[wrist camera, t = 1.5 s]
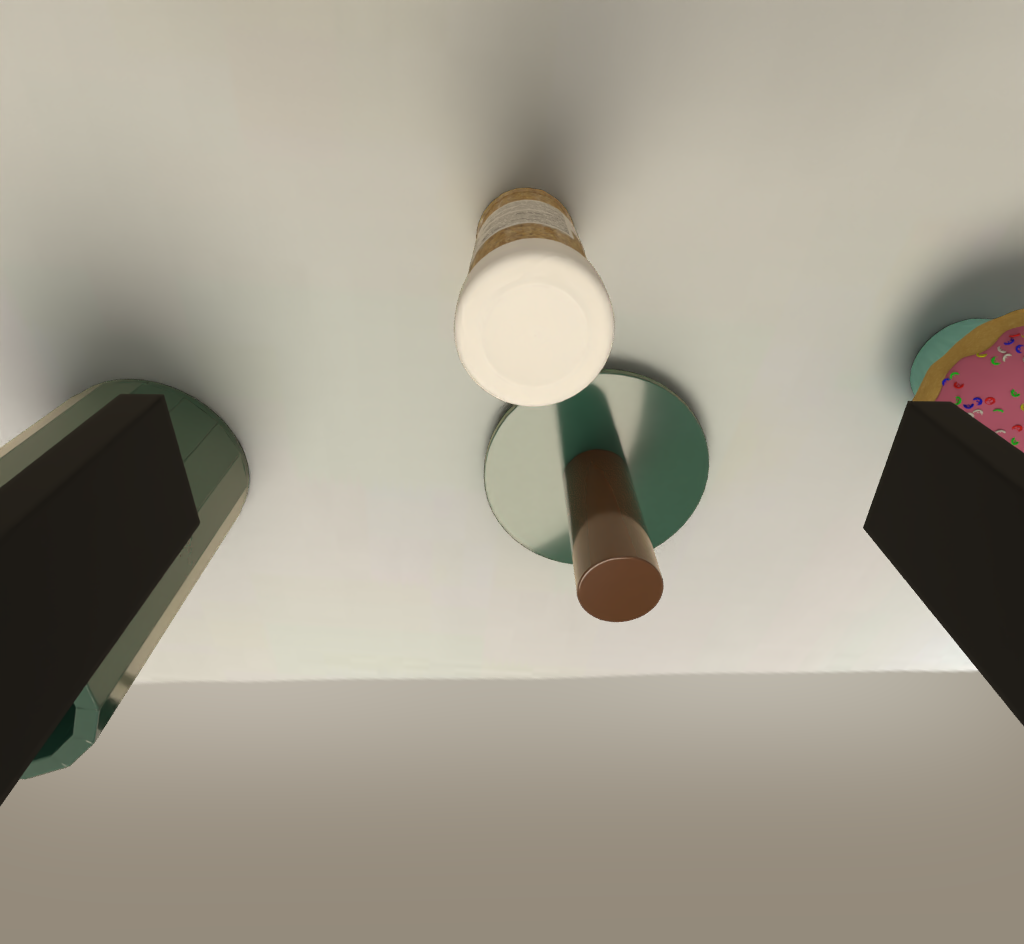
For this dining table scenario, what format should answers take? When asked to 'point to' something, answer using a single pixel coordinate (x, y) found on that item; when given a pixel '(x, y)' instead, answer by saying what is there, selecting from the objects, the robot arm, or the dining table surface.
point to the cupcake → (977, 372)
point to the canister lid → (600, 485)
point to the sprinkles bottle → (532, 304)
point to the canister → (218, 502)
